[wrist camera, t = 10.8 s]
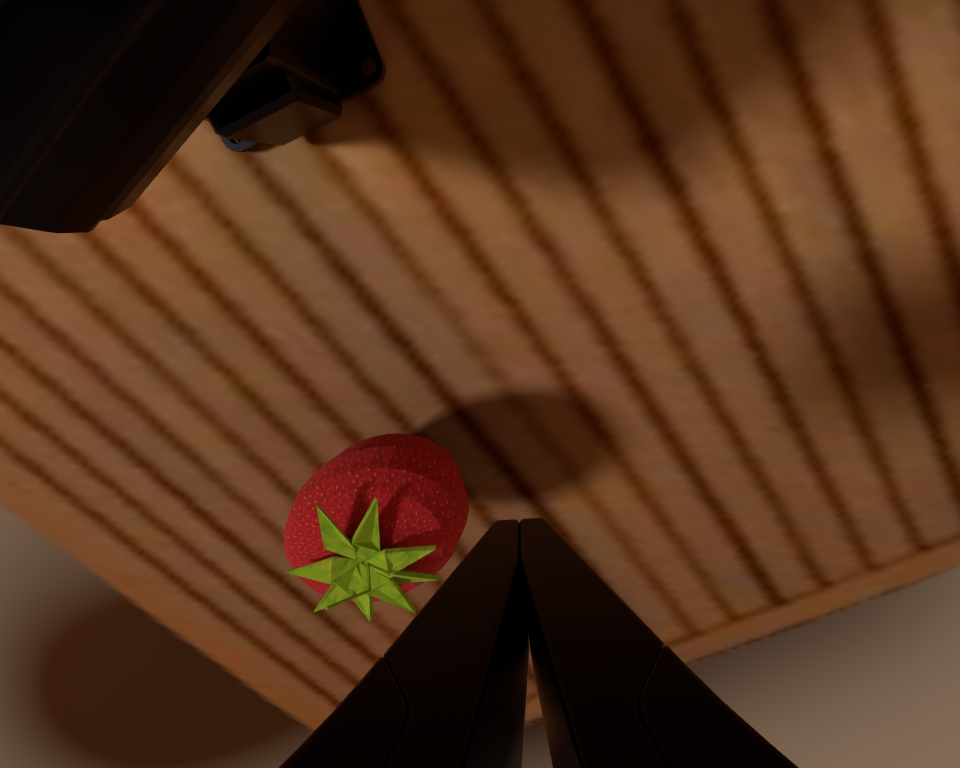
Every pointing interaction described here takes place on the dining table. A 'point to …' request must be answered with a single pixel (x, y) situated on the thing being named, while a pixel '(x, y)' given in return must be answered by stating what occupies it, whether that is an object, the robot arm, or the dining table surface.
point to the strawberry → (377, 521)
